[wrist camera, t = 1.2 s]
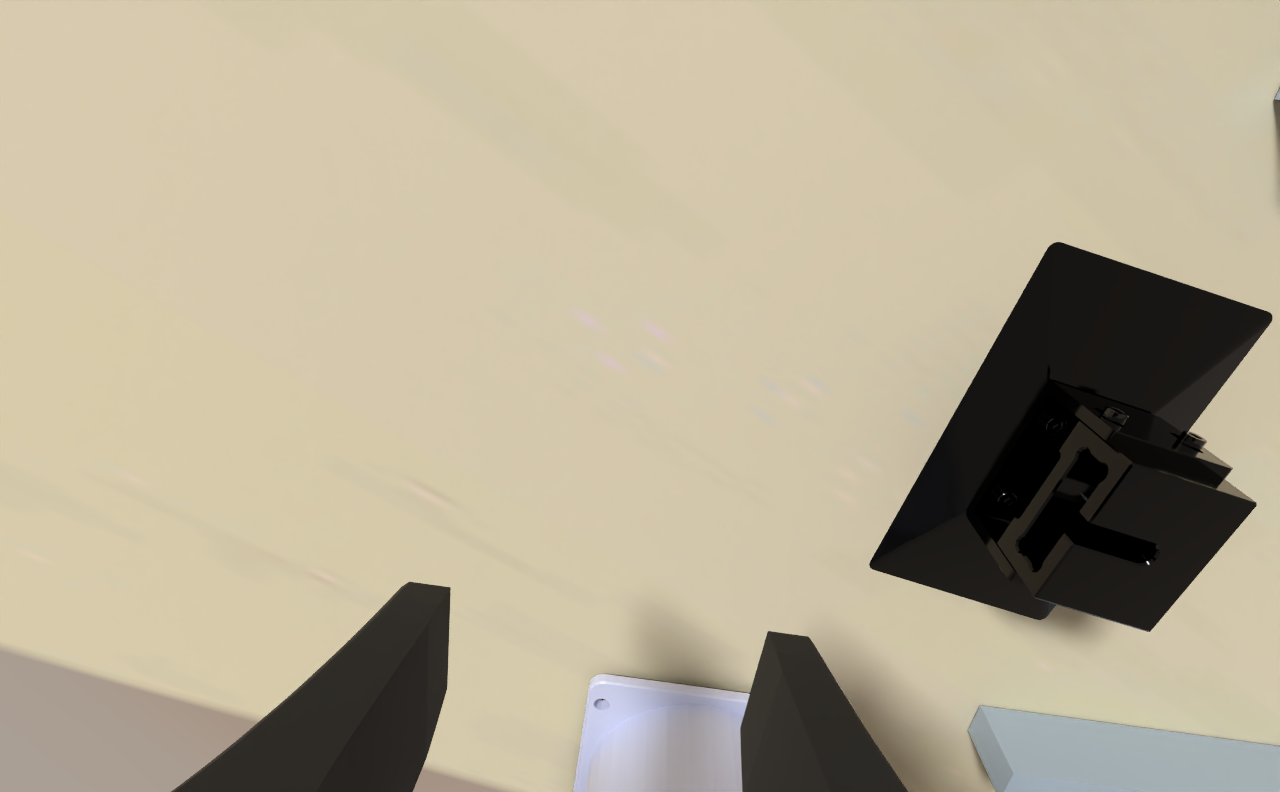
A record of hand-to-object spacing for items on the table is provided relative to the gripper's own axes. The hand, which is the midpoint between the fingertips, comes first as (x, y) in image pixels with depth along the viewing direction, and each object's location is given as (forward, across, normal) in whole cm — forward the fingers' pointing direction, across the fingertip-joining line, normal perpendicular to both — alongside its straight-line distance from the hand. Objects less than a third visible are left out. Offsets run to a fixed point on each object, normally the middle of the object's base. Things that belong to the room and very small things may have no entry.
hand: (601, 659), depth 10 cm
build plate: (+10, -12, 0) cm, 15 cm away
